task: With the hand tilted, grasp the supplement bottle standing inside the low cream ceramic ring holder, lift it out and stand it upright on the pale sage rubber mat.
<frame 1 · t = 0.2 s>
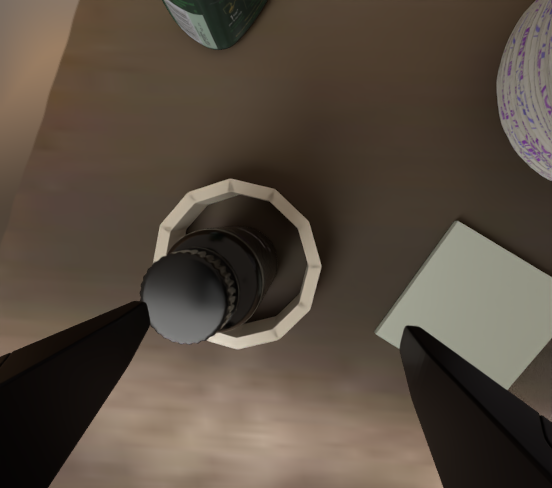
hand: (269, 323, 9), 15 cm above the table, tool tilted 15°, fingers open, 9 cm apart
mat: (471, 314, 23), on the table
ring holder: (242, 260, 25), on the table
supplement bottle: (242, 260, 25), resting in ring holder
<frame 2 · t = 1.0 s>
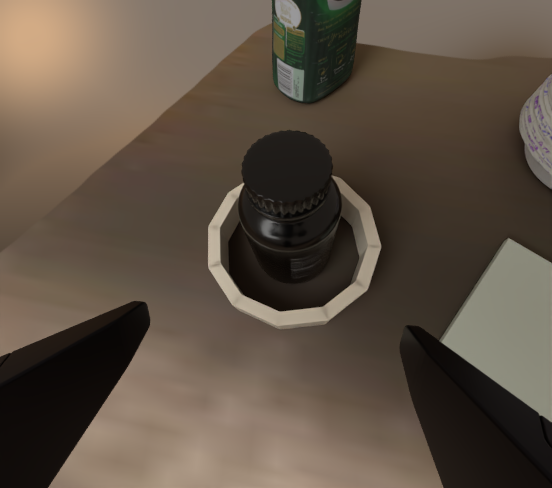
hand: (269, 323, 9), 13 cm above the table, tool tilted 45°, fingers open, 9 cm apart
mat: (548, 341, 20), on the table
ring holder: (291, 249, 24), on the table
coffee jar: (311, 81, 33), on the table
supplement bottle: (291, 250, 24), resting in ring holder
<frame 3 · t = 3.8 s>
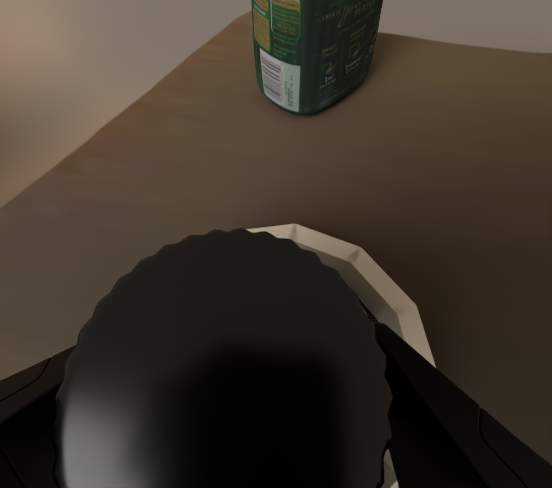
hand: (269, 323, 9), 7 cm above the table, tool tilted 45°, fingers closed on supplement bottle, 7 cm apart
ring holder: (278, 362, 14), on the table
coffee jar: (310, 84, 24), on the table
supplement bottle: (278, 362, 15), resting in ring holder, touching gripper
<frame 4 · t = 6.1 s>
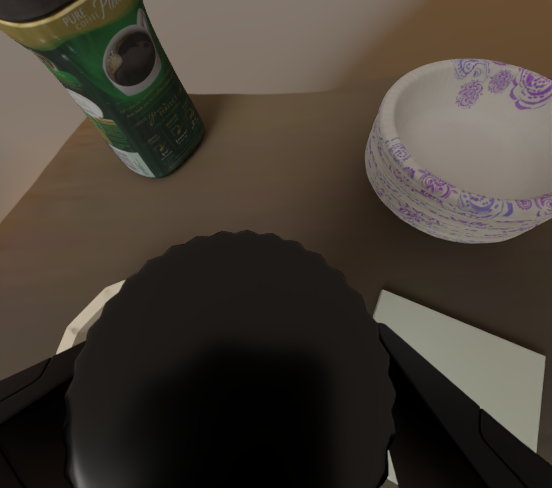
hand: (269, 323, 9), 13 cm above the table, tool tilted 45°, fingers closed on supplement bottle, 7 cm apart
mat: (438, 398, 19), on the table
ring holder: (164, 364, 21), on the table
coffee jar: (166, 148, 30), on the table
paper bowls: (433, 187, 26), on the table
supplement bottle: (274, 360, 15), point 6 cm above the table, touching gripper
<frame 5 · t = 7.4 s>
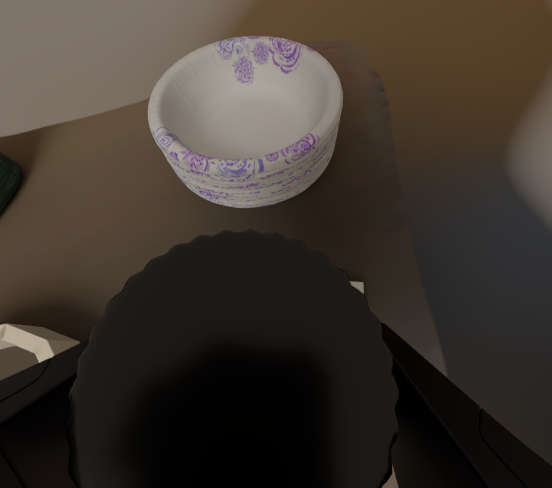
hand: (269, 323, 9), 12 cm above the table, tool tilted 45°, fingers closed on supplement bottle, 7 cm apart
ring holder: (4, 430, 19), on the table
paper bowls: (257, 162, 27), on the table
supplement bottle: (274, 360, 15), point 5 cm above the table, touching gripper
when the fingers open (8 cm above the table, at t = 8.6 s): supplement bottle drops 1 cm, resting on mat.
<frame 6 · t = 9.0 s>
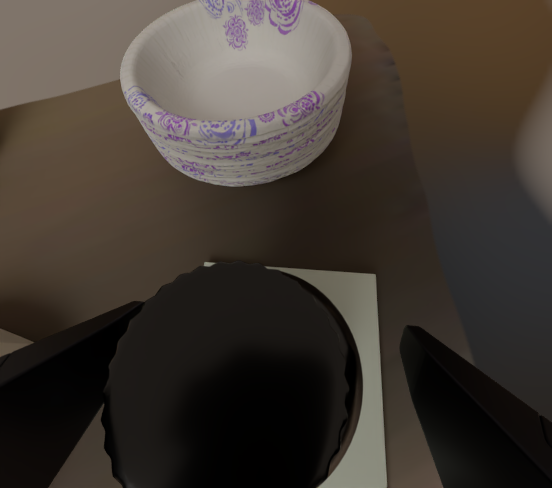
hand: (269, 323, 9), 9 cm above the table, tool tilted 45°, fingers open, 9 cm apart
mat: (279, 361, 16), on the table
paper bowls: (252, 141, 24), on the table
supplement bottle: (275, 363, 16), resting on mat
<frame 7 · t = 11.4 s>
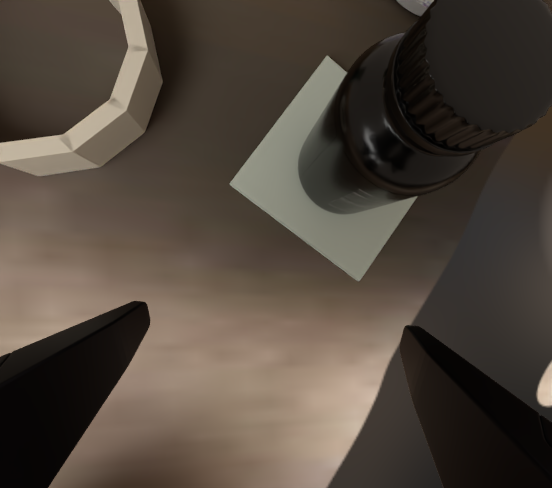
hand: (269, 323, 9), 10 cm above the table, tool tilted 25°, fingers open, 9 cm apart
mat: (340, 171, 20), on the table
ring holder: (45, 65, 17), on the table
supplement bottle: (338, 170, 19), resting on mat
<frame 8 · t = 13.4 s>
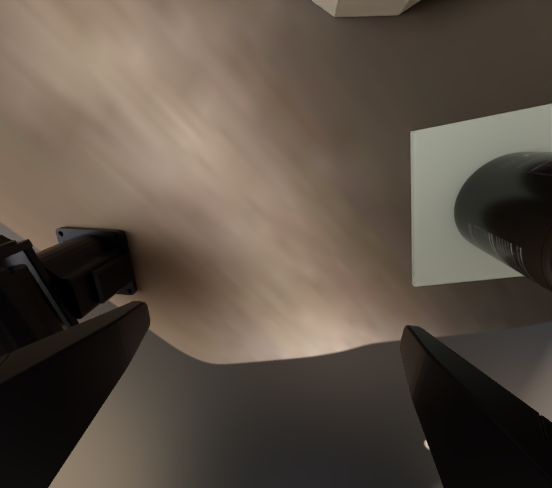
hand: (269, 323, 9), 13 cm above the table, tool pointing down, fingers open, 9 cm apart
mat: (500, 202, 19), on the table
supplement bottle: (501, 200, 18), resting on mat
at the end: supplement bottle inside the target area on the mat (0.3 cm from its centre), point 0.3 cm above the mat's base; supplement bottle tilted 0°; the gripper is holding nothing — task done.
